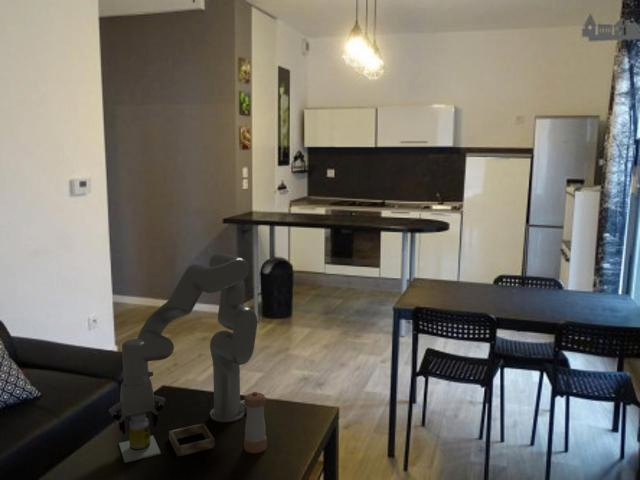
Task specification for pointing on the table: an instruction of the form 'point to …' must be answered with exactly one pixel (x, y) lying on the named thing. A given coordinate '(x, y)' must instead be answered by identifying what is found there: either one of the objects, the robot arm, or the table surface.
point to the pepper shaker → (255, 423)
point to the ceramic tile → (132, 455)
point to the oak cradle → (195, 445)
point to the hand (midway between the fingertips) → (139, 428)
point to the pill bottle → (139, 432)
